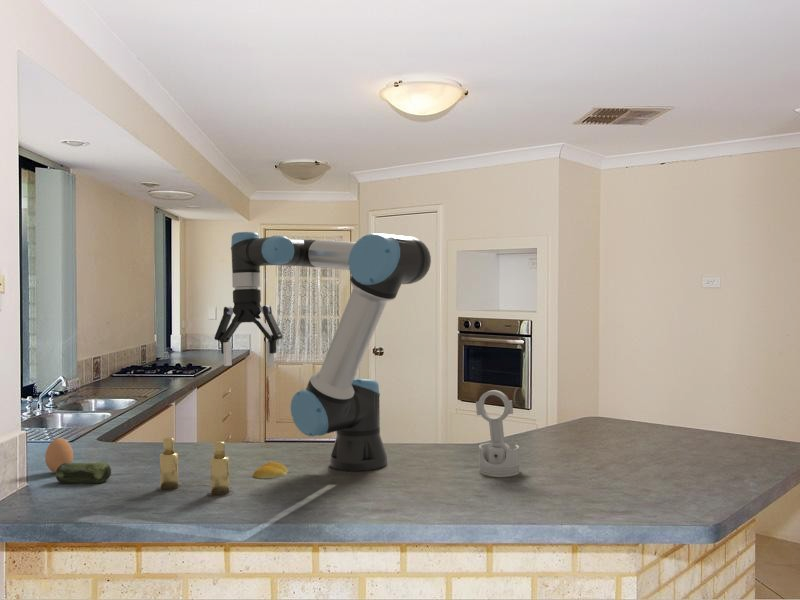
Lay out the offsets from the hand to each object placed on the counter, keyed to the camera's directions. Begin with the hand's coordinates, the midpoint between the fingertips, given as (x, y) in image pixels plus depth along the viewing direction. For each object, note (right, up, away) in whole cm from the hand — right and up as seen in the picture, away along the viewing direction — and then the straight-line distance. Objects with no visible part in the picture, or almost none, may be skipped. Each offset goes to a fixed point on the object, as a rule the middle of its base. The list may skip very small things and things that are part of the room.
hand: (248, 365), depth 189 cm
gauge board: (-5, -27, -33) cm, 43 cm away
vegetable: (-38, -28, -18) cm, 50 cm away
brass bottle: (-12, -26, -30) cm, 41 cm away
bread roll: (+9, -27, -18) cm, 34 cm away
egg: (-48, -28, -8) cm, 56 cm away
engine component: (+66, -25, -16) cm, 73 cm away
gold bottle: (+1, -25, -35) cm, 43 cm away
